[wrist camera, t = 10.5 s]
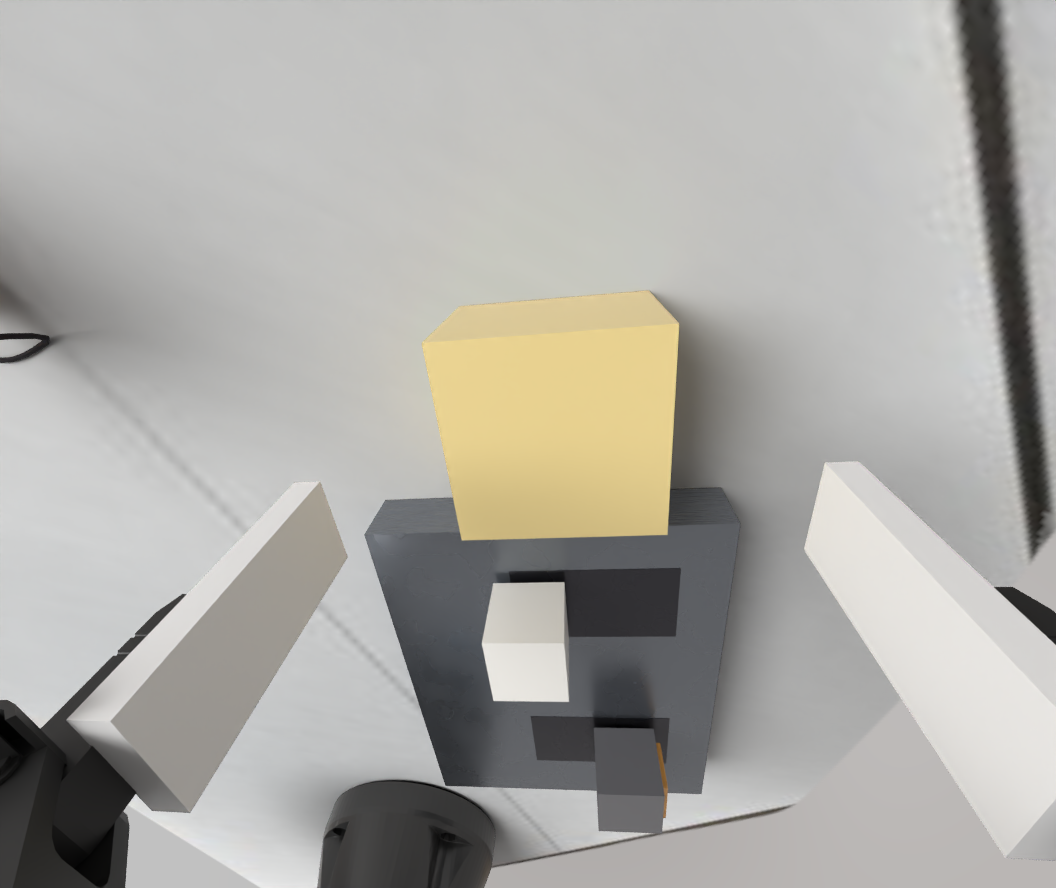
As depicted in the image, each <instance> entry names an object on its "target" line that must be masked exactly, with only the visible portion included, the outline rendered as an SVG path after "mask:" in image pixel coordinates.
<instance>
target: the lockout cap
mask: <svg viewBox="0 0 1056 888" xmlns="http://www.w3.org/2000/svg"><path fill="white" fill-rule="evenodd" d="M678 337H679V323H678V322H677V321H676V319H675V318H674V317H673V316H672V315H671V314H670V313H669V312H668V311H667V310H666V309H665V308H664V307H663V305H662V304H661V303H660V302H659V301H658V300H657V299H656V298H655V297H654V296H653V295H652V294H651V293H650V291H649V290H648V291H636V292H624V293H612V294H600V295H589V296H577V297H565V298H553V299H541V300H529V301H517V302H505V303H493V304H482V305H470V306H459V307H458V308H457V309H456V310H455V311H454V312H453V313H452V314H451V315H450V316H449V317H448V318H447V319H446V320H445V321H444V322H443V323H442V324H441V325H440V326H439V327H438V328H437V329H436V330H435V331H433V332H432V333H431V334H430V335H429V336H428V337H427V338H426V339H425V340H424V341H423V342H422V347H423V352H424V357H425V362H426V367H427V372H428V377H429V382H430V387H431V392H432V397H433V401H434V406H435V411H436V416H437V421H438V426H439V431H440V436H441V441H442V446H443V451H444V456H445V461H446V465H447V470H448V475H449V480H450V485H451V490H452V495H453V500H454V505H455V510H456V515H457V520H458V525H459V529H460V534H461V539H462V540H498V539H535V538H571V537H608V536H645V535H667V534H668V516H669V498H670V480H671V462H672V444H673V426H674V408H675V390H676V372H677V354H678Z"/></svg>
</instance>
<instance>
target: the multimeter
mask: <svg viewBox="0 0 1056 888" xmlns="http://www.w3.org/2000/svg"><path fill="white" fill-rule="evenodd" d="M5 339H40V340H42V341H41V342H40V343H38V344H37V345H36V346H34V347H33V348H31V349H29V350H27V351H26V352H24V353H22V354H19V355H16V356H13V357H7V358H0V363H6V362H13V361H17V360H21V359H23V358H26V357H29V356H30V355H32V354H34V353H36V352H38V351H39V350H41V349H42V348H44V347H45V346H47V345H48V344H49V336H46V335H40V334H34V333H7V334H0V340H5Z"/></svg>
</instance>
